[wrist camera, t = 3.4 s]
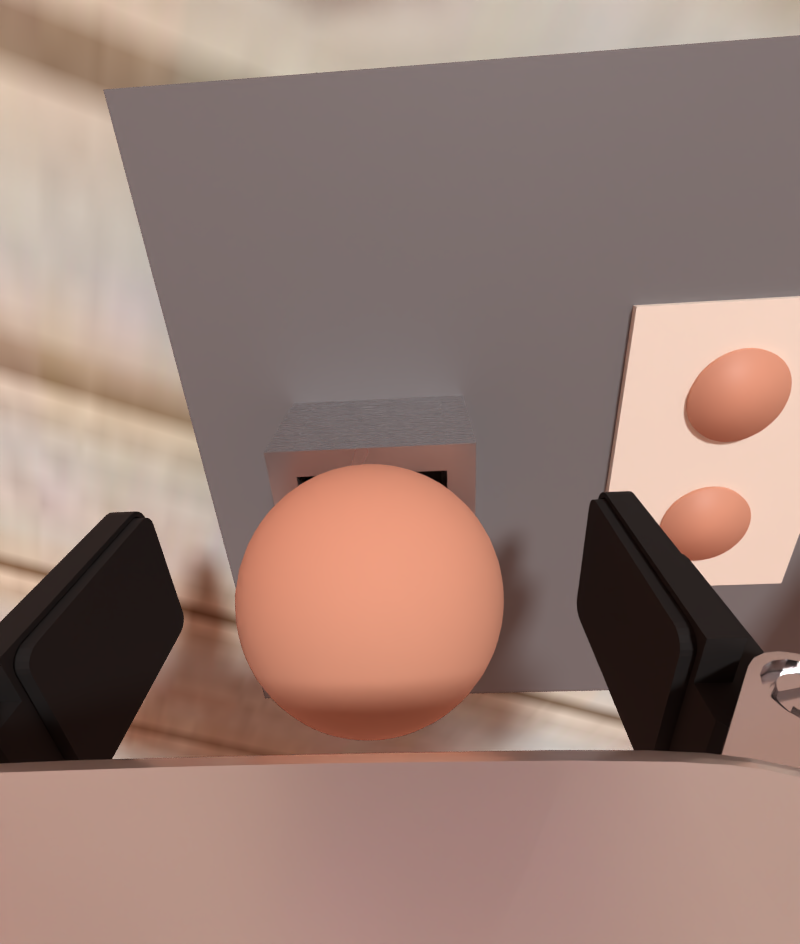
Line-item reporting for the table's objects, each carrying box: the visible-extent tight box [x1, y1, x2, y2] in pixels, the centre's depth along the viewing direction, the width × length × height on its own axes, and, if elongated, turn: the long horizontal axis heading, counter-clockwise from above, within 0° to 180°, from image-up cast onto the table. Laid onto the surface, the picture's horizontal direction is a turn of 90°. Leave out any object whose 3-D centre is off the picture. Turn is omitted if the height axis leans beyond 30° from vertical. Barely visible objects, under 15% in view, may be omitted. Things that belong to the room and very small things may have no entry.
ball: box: [235, 464, 504, 740], centre depth 10 cm, size 5×5×5 cm
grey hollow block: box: [264, 395, 476, 515], centre depth 13 cm, size 4×4×3 cm
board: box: [104, 35, 800, 698], centre depth 14 cm, size 28×18×2 cm, turn 93°
